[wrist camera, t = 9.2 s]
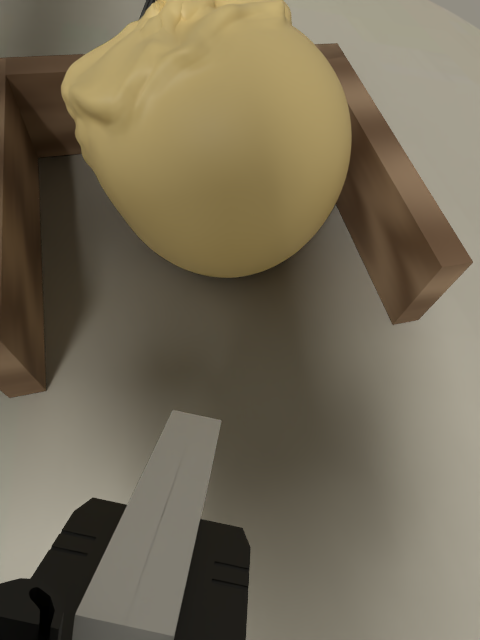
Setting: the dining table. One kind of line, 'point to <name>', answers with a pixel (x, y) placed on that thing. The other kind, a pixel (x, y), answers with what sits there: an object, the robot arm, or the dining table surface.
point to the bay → (353, 203)
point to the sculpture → (214, 132)
